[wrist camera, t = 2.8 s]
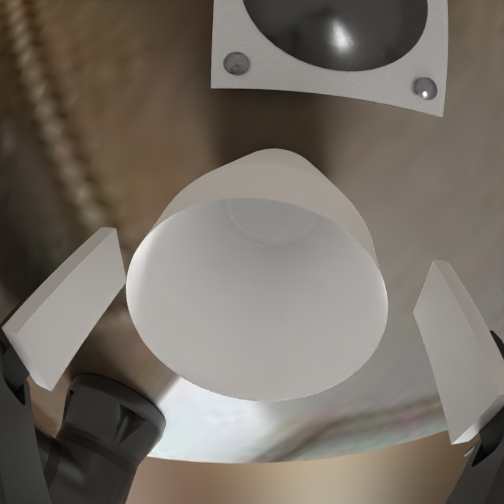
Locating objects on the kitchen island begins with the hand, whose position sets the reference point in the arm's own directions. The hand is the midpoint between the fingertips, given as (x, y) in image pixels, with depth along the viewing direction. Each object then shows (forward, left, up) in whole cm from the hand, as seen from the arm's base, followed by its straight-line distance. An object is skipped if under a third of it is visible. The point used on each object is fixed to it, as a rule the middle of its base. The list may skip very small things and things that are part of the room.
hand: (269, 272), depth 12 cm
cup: (0, 0, -9) cm, 9 cm away
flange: (+3, +14, -9) cm, 17 cm away
